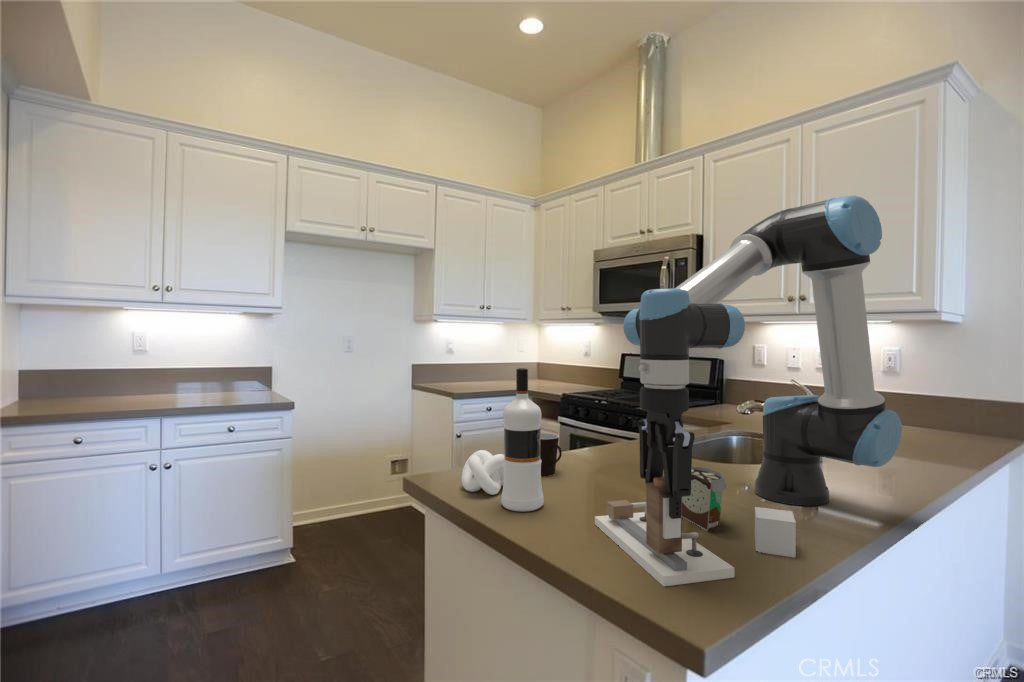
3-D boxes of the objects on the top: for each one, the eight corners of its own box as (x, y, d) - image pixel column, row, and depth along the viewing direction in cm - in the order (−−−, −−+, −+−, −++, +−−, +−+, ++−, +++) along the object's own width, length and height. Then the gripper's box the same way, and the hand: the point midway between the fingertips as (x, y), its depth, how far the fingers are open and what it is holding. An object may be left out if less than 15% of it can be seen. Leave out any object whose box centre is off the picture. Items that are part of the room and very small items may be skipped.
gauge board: (650, 518, 104) (650, 493, 104) (734, 577, 79) (734, 544, 79) (594, 524, 102) (594, 498, 102) (663, 586, 76) (663, 552, 76)
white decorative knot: (499, 481, 132) (499, 446, 132) (520, 494, 121) (520, 455, 121) (457, 486, 127) (457, 450, 127) (475, 500, 116) (475, 461, 116)
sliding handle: (689, 546, 86) (690, 473, 86) (704, 556, 83) (704, 480, 82) (646, 551, 85) (646, 476, 84) (658, 561, 81) (658, 483, 81)
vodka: (495, 501, 115) (495, 367, 115) (533, 497, 119) (533, 366, 118) (510, 515, 107) (509, 370, 106) (550, 509, 110) (550, 368, 110)
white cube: (791, 544, 92) (792, 511, 92) (795, 558, 86) (796, 522, 86) (754, 539, 94) (754, 506, 94) (755, 552, 89) (756, 517, 89)
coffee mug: (524, 469, 143) (524, 433, 143) (555, 468, 144) (555, 432, 144) (531, 481, 132) (531, 442, 131) (564, 480, 133) (564, 441, 132)
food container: (740, 531, 98) (740, 478, 98) (713, 534, 96) (713, 481, 96) (699, 510, 110) (699, 463, 110) (674, 513, 108) (674, 465, 108)
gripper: (619, 381, 90) (618, 515, 90) (671, 392, 74) (671, 556, 74) (658, 380, 92) (657, 511, 92) (717, 391, 75) (717, 550, 76)
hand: (663, 531), depth 83 cm, fingers closed on sliding handle, 4 cm apart
